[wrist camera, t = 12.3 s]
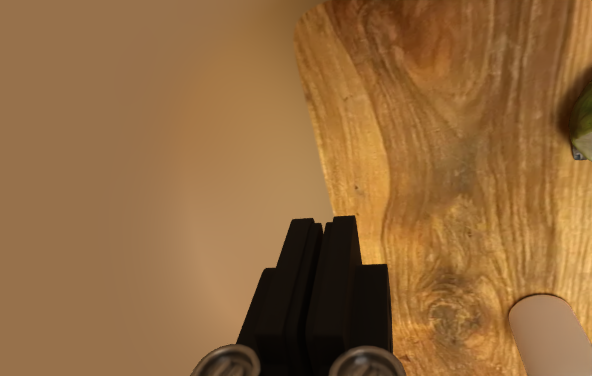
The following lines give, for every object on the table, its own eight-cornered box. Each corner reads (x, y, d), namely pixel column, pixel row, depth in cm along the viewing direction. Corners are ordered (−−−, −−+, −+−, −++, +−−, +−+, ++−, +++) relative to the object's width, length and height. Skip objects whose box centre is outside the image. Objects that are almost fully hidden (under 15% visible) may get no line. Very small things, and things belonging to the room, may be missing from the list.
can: (502, 332, 48) (535, 433, 38) (512, 289, 45) (552, 388, 35) (563, 337, 47) (614, 444, 37) (578, 294, 44) (639, 397, 34)
